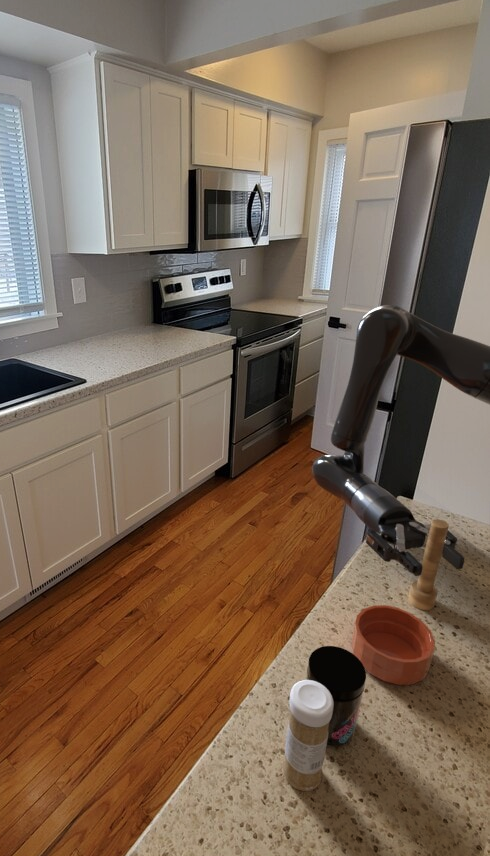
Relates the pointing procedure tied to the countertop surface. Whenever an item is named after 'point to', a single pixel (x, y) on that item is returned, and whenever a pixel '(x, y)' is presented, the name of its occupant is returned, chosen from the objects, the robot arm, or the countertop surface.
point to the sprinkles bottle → (307, 734)
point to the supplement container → (339, 689)
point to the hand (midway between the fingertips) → (440, 568)
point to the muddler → (429, 568)
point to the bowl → (393, 644)
